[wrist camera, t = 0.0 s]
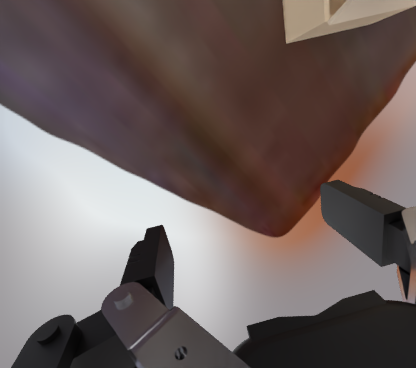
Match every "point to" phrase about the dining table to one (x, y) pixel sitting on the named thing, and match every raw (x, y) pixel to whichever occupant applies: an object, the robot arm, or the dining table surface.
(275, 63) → the dining table surface
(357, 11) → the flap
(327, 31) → the carton
